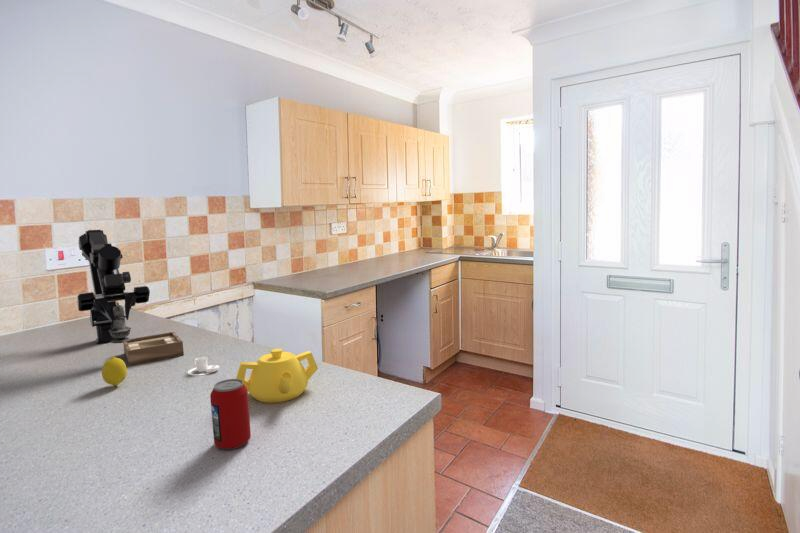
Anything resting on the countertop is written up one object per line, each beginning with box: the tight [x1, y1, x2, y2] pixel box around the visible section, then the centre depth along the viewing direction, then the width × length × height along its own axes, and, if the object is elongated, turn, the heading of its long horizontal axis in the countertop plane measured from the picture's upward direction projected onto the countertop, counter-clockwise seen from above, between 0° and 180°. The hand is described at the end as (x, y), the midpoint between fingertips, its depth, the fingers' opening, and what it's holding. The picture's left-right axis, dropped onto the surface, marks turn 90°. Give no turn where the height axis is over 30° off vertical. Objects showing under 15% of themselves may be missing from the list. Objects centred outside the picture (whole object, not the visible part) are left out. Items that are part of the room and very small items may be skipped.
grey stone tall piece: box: [109, 302, 132, 344], centre depth 137 cm, size 6×6×12 cm
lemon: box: [101, 356, 128, 387], centre depth 118 cm, size 6×6×8 cm
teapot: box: [235, 348, 319, 404], centre depth 109 cm, size 20×18×11 cm
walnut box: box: [123, 331, 184, 367], centre depth 145 cm, size 15×15×4 cm
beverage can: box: [209, 378, 252, 450], centre depth 87 cm, size 7×7×12 cm
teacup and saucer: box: [187, 356, 220, 377], centre depth 128 cm, size 9×8×4 cm
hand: (120, 320), depth 136 cm, fingers closed on grey stone tall piece, 4 cm apart
